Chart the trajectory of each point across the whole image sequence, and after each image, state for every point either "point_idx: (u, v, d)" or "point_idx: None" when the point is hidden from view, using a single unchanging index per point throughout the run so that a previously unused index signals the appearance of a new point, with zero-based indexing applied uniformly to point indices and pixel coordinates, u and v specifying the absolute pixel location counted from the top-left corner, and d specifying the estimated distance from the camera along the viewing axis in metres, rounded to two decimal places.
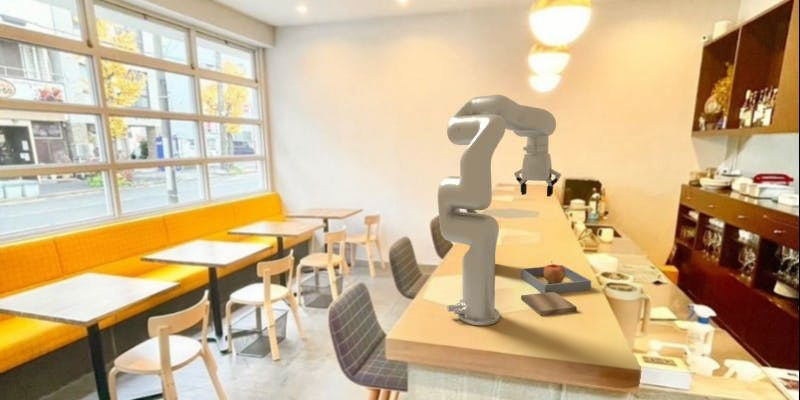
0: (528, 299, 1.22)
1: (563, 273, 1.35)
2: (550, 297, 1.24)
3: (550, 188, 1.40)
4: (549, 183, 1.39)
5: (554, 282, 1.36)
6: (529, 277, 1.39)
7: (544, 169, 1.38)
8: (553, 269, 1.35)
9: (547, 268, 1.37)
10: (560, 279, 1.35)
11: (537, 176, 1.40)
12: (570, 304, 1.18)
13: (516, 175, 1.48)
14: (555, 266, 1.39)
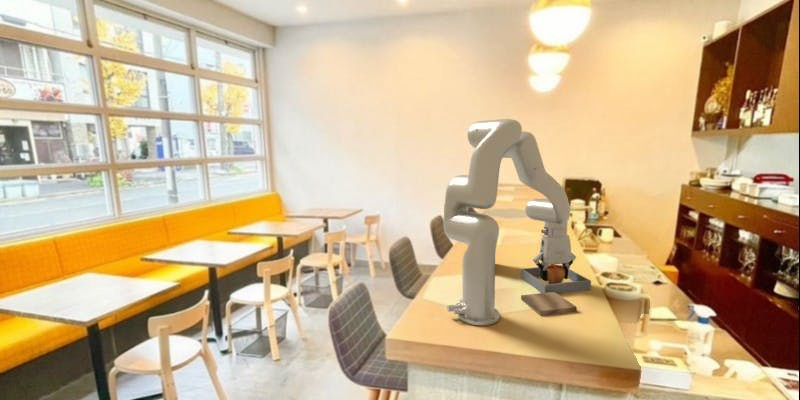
0: (528, 299, 1.22)
1: (563, 273, 1.35)
2: (550, 297, 1.24)
3: None
4: (567, 266, 1.37)
5: (554, 282, 1.36)
6: (529, 277, 1.39)
7: (568, 251, 1.35)
8: (553, 269, 1.35)
9: (547, 268, 1.37)
10: (560, 279, 1.35)
11: (562, 259, 1.35)
12: (570, 304, 1.18)
13: (537, 262, 1.36)
14: (555, 266, 1.39)
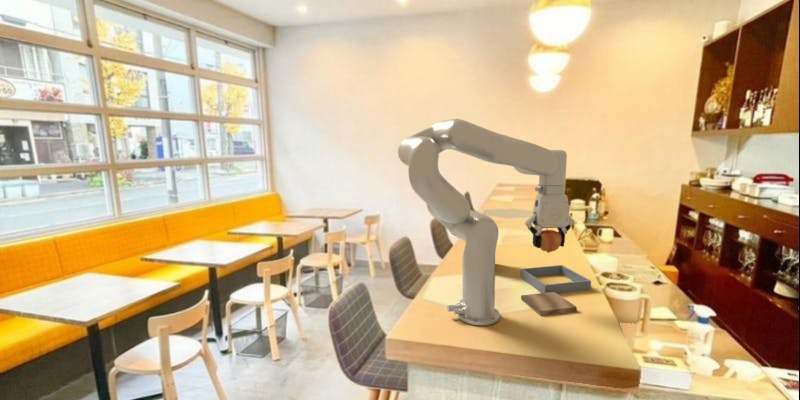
0: (528, 299, 1.22)
1: (560, 238, 1.16)
2: (550, 297, 1.24)
3: None
4: (564, 231, 1.18)
5: (549, 249, 1.17)
6: (529, 277, 1.39)
7: (566, 213, 1.16)
8: (548, 234, 1.16)
9: (541, 233, 1.18)
10: (556, 245, 1.16)
11: (558, 222, 1.16)
12: (570, 304, 1.18)
13: (530, 225, 1.16)
14: (550, 231, 1.20)
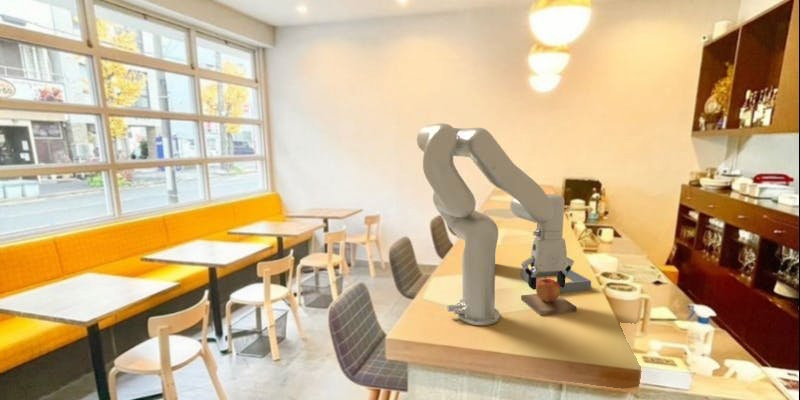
0: (528, 299, 1.22)
1: (558, 289, 1.17)
2: None
3: None
4: (564, 272, 1.19)
5: (548, 300, 1.18)
6: None
7: (564, 257, 1.17)
8: (547, 285, 1.17)
9: (540, 283, 1.19)
10: (555, 296, 1.17)
11: (556, 266, 1.16)
12: (570, 304, 1.18)
13: (526, 267, 1.17)
14: (549, 281, 1.21)
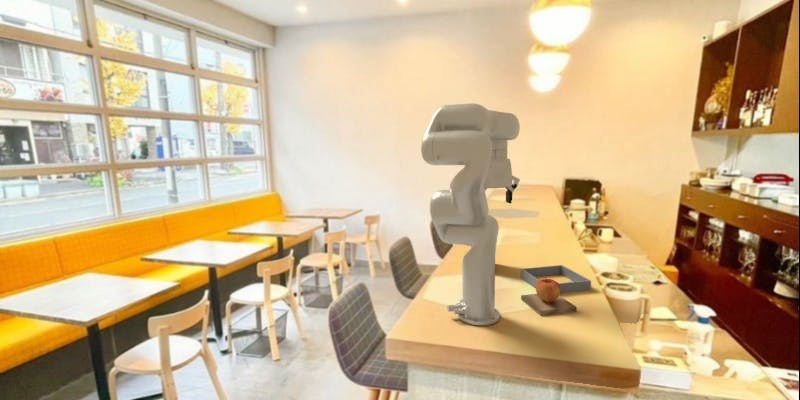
0: (528, 299, 1.22)
1: (559, 289, 1.17)
2: None
3: None
4: (511, 189, 1.33)
5: (548, 300, 1.18)
6: (529, 277, 1.39)
7: (509, 175, 1.31)
8: (547, 285, 1.17)
9: (540, 283, 1.19)
10: (555, 296, 1.17)
11: (502, 183, 1.31)
12: (570, 304, 1.18)
13: None
14: (549, 281, 1.21)
